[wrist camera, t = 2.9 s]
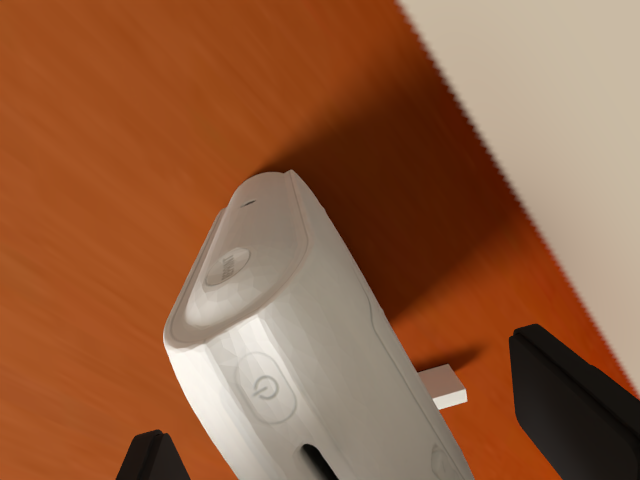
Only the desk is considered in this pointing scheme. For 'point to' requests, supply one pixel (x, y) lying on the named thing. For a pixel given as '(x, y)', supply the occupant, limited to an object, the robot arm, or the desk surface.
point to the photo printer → (299, 351)
